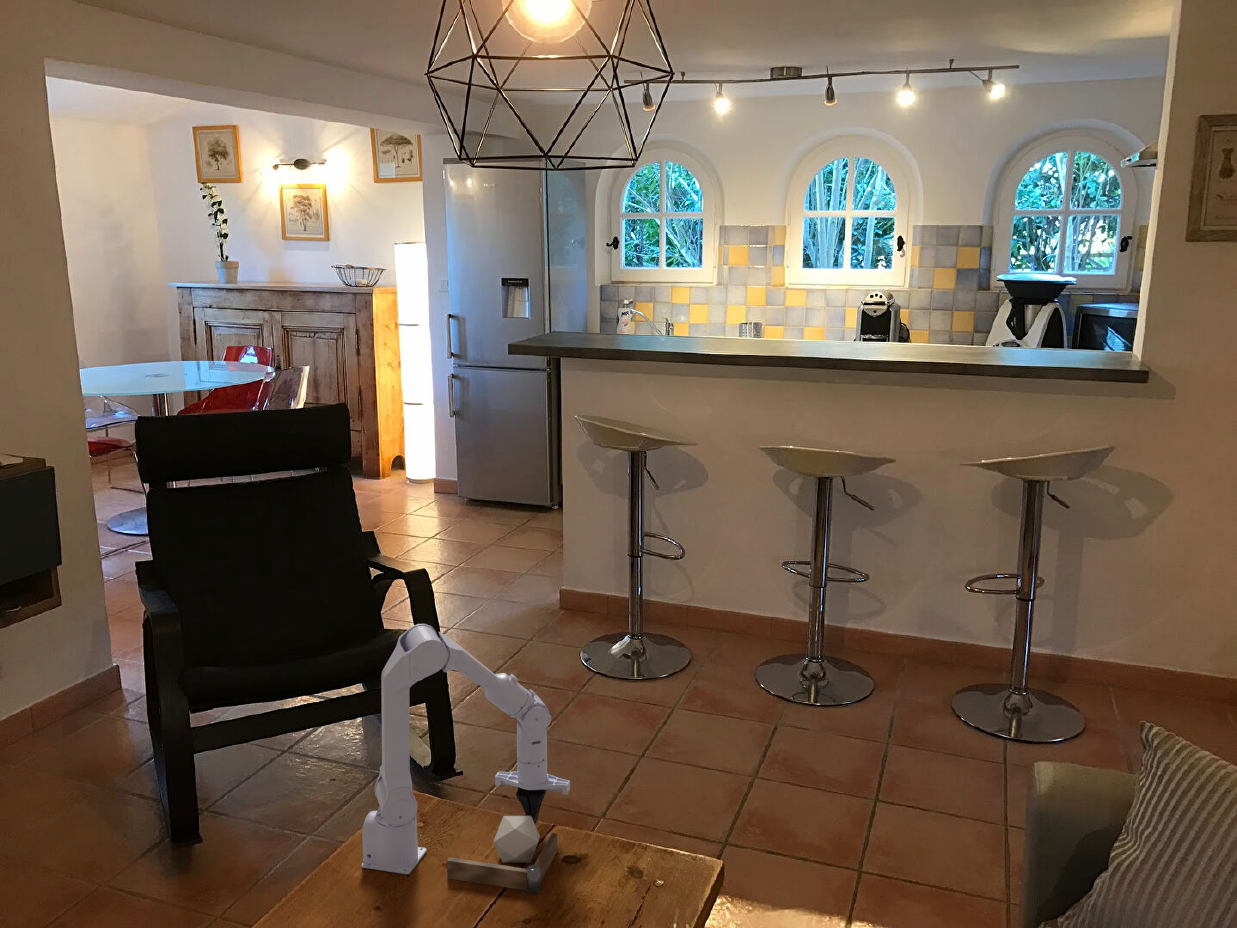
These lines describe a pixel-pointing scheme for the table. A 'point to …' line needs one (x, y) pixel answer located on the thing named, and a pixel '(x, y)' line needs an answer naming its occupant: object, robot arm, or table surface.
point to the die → (516, 839)
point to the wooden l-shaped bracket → (505, 870)
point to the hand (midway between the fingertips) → (532, 821)
